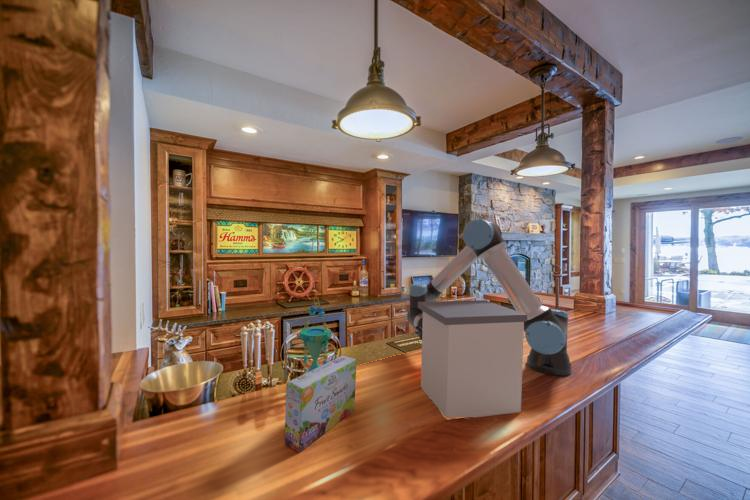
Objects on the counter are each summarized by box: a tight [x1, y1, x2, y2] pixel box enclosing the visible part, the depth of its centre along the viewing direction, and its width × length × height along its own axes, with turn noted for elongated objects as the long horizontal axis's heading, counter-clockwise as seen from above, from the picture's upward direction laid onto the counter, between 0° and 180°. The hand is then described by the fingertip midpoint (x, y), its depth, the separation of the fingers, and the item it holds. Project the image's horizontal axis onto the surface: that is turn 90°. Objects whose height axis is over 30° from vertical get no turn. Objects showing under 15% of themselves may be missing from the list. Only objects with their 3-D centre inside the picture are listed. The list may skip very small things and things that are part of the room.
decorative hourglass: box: [299, 296, 333, 375], centre depth 96 cm, size 11×11×30 cm
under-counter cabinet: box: [418, 299, 527, 418], centre depth 93 cm, size 25×21×28 cm
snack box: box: [284, 355, 358, 454], centre depth 77 cm, size 21×6×15 cm, turn 148°
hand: (449, 342), depth 103 cm, fingers closed on orange juice, 8 cm apart
